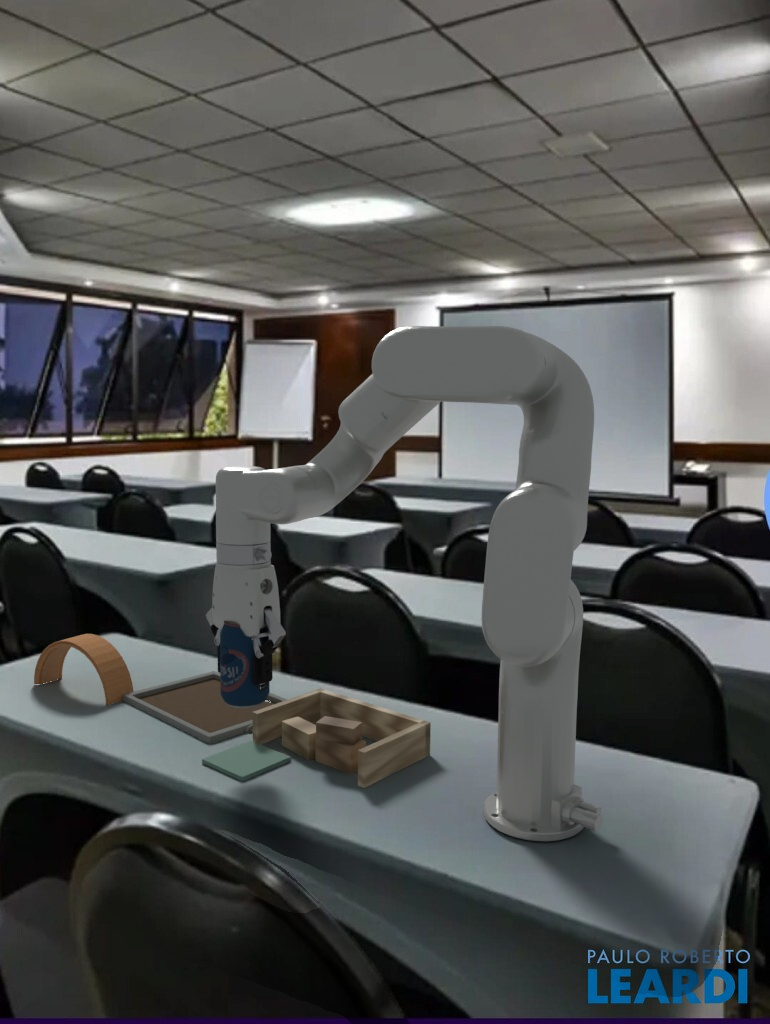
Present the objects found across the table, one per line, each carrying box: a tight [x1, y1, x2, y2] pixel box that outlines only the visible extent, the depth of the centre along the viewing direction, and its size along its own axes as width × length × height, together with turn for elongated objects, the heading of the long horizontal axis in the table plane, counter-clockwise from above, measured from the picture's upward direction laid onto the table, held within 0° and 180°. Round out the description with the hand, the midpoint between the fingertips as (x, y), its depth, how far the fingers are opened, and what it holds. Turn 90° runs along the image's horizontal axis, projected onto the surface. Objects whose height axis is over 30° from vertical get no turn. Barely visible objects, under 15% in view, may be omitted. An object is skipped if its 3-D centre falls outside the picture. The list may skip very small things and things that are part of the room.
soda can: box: [220, 621, 271, 708], centre depth 118 cm, size 7×7×12 cm
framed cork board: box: [122, 671, 288, 745], centre depth 142 cm, size 19×2×30 cm
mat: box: [201, 740, 292, 782], centre depth 120 cm, size 9×9×1 cm
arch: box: [33, 633, 134, 706], centre depth 150 cm, size 6×20×10 cm, turn 59°
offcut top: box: [315, 716, 363, 745], centre depth 119 cm, size 6×3×2 cm, turn 67°
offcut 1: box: [281, 717, 316, 761], centre depth 124 cm, size 7×3×4 cm, turn 41°
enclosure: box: [252, 688, 431, 789], centre depth 124 cm, size 23×15×5 cm, turn 49°
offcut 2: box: [315, 735, 366, 775], centre depth 119 cm, size 7×3×4 cm, turn 50°
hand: (244, 675), depth 118 cm, fingers closed on soda can, 7 cm apart
